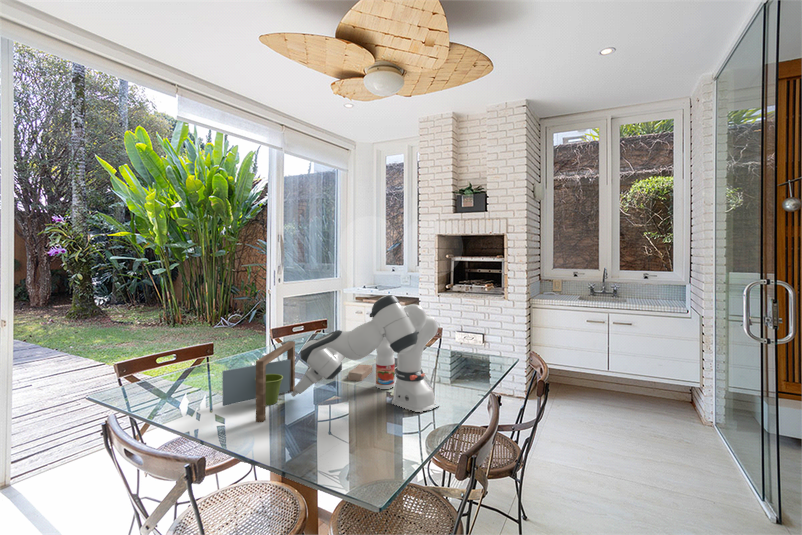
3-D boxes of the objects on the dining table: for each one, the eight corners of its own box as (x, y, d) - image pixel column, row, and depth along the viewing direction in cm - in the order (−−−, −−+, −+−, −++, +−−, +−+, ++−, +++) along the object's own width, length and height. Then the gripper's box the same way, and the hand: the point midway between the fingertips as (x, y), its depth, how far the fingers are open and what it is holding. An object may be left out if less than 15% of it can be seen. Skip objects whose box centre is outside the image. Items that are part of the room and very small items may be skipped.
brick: (361, 381, 201) (361, 373, 201) (347, 380, 204) (347, 371, 204) (372, 373, 217) (372, 365, 217) (359, 372, 220) (359, 363, 220)
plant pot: (265, 410, 162) (265, 383, 162) (249, 403, 169) (249, 378, 169) (288, 401, 172) (288, 376, 172) (272, 396, 179) (272, 372, 179)
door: (290, 390, 184) (290, 359, 183) (223, 406, 164) (223, 371, 163) (288, 389, 186) (288, 358, 185) (221, 404, 166) (221, 369, 166)
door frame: (294, 390, 187) (294, 341, 186) (263, 422, 150) (263, 361, 150) (288, 390, 187) (288, 341, 186) (255, 422, 150) (255, 361, 150)
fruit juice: (391, 383, 199) (391, 329, 198) (396, 389, 190) (397, 332, 189) (373, 384, 196) (374, 330, 195) (378, 391, 187) (378, 333, 186)
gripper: (319, 359, 181) (299, 378, 182) (305, 371, 161) (283, 394, 161) (329, 368, 181) (308, 388, 182) (316, 382, 160) (293, 405, 161)
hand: (296, 391), depth 171 cm, fingers open, 8 cm apart
